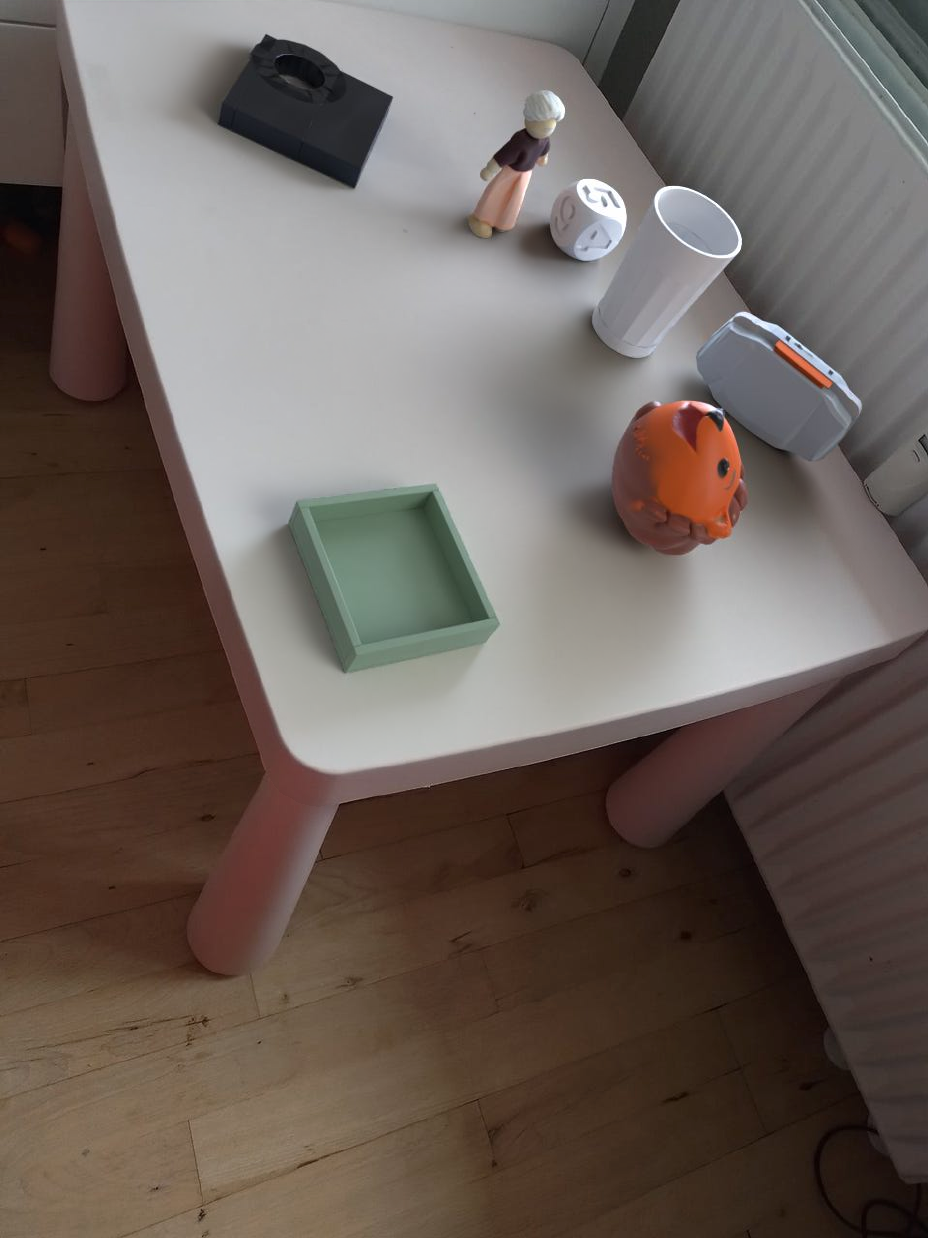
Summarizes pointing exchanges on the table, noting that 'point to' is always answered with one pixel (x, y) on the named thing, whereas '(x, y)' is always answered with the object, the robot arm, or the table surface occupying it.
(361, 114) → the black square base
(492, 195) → the grandmother figurine
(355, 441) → the table surface
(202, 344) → the table surface
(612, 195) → the die
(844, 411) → the gray clasp case
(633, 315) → the cup
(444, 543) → the basin
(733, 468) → the orange fox figurine
